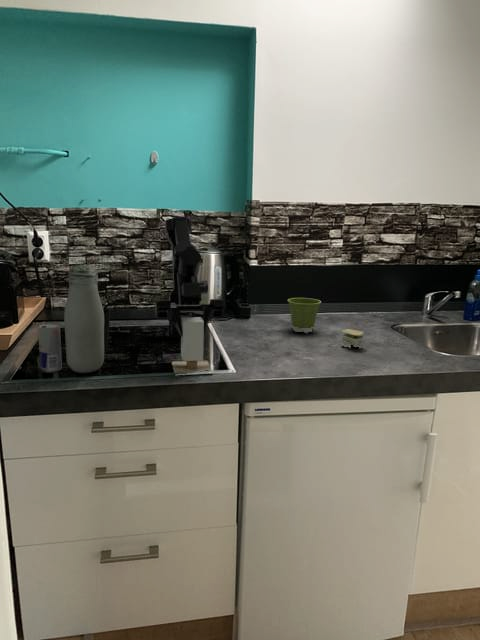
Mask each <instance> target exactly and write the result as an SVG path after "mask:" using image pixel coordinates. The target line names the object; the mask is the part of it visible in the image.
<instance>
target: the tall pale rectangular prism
mask: <svg viewBox="0 0 480 640" xmlns="http://www.w3.org/2000/svg"><path fill="white" fill-rule="evenodd" d="M181 324H182V330H183V336H182V337H181V339H180V356H181V359H182V360H181V361H204V336H205V334H204V321H203V320H202V317H201V316H194V317H181Z"/></svg>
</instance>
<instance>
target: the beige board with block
mask: <svg viewBox="0 0 480 640" xmlns="http://www.w3.org/2000/svg"><path fill="white" fill-rule="evenodd" d="M171 366H173V367H172V370H174V371H173V374H174V373H175V375H176V374H177V375H178V374H187V373H194V372H198V371H205V370H210V371H211V372H212V371H213V370H212V367H211V365H210V363H209V361H208V360H206V359H205V360H200V361H183V360H181V361H171ZM175 375H174V376H175Z"/></svg>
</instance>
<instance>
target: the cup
mask: <svg viewBox="0 0 480 640" xmlns="http://www.w3.org/2000/svg"><path fill="white" fill-rule="evenodd" d="M103 311H104V353H106V352H108V351H109V350H108V349H109V338H110V336H109V335H110V323H111V322H110V321H111V310H109V309H107V308H103Z"/></svg>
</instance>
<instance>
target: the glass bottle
mask: <svg viewBox="0 0 480 640" xmlns="http://www.w3.org/2000/svg"><path fill="white" fill-rule="evenodd" d="M67 280H68V283H69V284H68V285H69V289H68V293H67V294H68V295H67V298H66V303H65V307H64V311H63V312H64V314H63V319H64V321H63V322H64V338H65V340H64V341H65V351H66V352H65V353H66V364H67V365H68V367H69V368H70V369H71V370H72V371H73V372H74V373H79V374H89V373H93V372H96V371H98V370H99V369H101V367H102V366H103V364H104V362H105V361H104V360H105V352H104V311H103V309H104V308H103V305H102V301H101V297H100V294H99V288H98V283H99V276H98V270H97V269H96V268H95V267H92V265H77V266H75V267H72V268H71V269H69V270H68V278H67Z"/></svg>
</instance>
